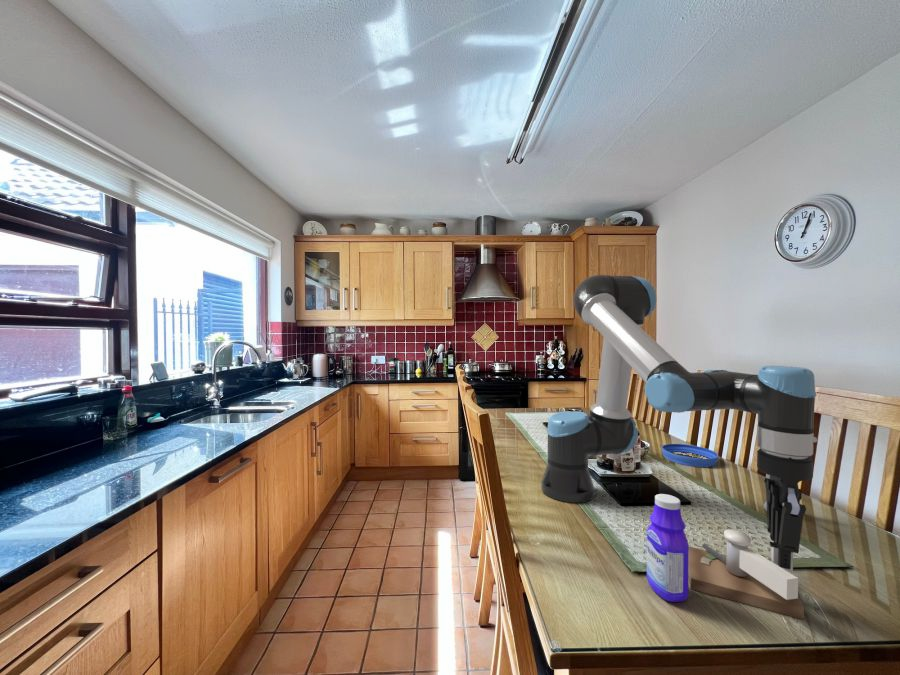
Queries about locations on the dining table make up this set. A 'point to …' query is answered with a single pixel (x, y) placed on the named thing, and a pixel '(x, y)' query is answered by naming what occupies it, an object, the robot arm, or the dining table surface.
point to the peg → (755, 565)
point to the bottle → (667, 550)
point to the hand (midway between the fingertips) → (781, 581)
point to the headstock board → (735, 585)
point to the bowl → (688, 459)
